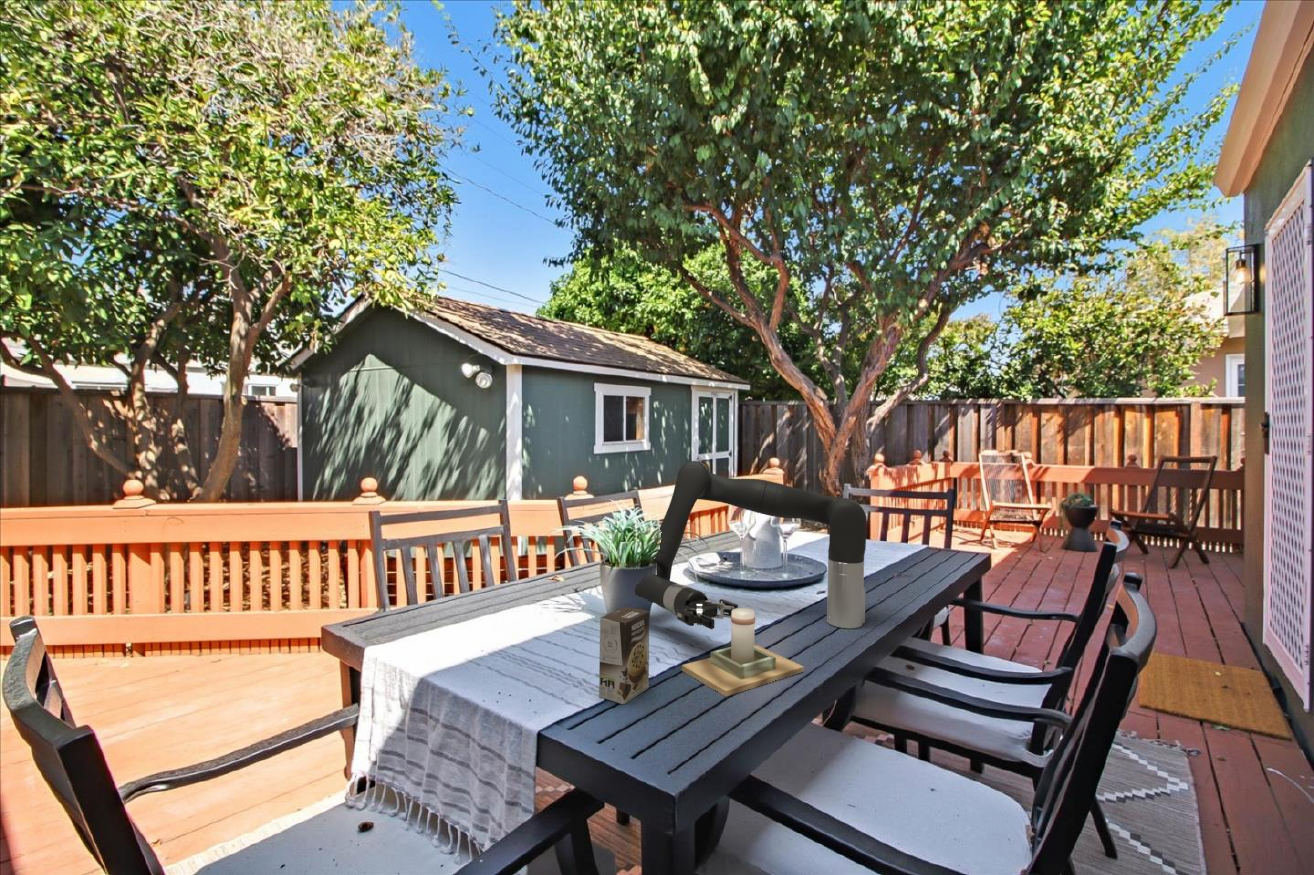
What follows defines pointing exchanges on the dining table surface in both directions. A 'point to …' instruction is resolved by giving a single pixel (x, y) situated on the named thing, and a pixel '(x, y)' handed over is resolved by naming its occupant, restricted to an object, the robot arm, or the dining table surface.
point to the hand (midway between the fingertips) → (728, 621)
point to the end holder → (740, 670)
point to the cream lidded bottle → (742, 635)
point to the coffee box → (624, 654)
